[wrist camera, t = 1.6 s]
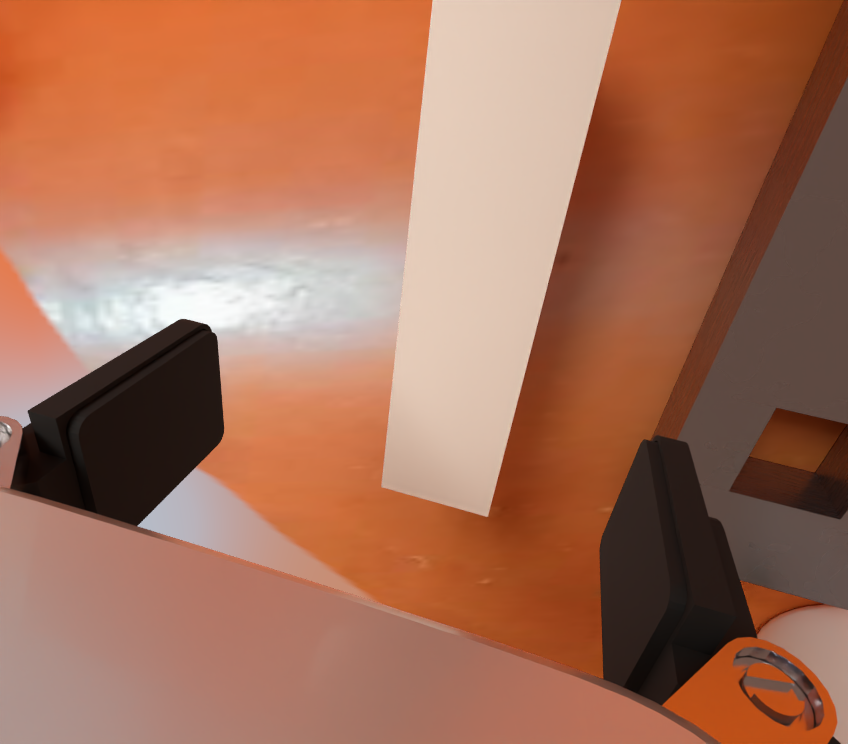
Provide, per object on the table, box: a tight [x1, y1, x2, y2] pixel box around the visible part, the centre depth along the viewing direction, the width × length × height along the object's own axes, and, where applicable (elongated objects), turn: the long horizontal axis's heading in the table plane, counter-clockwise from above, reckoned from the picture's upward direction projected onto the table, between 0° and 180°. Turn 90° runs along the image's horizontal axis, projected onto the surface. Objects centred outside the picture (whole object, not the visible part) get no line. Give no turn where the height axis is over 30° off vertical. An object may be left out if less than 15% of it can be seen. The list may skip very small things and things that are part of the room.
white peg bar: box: [381, 0, 621, 517], centre depth 20 cm, size 18×4×8 cm, turn 173°
